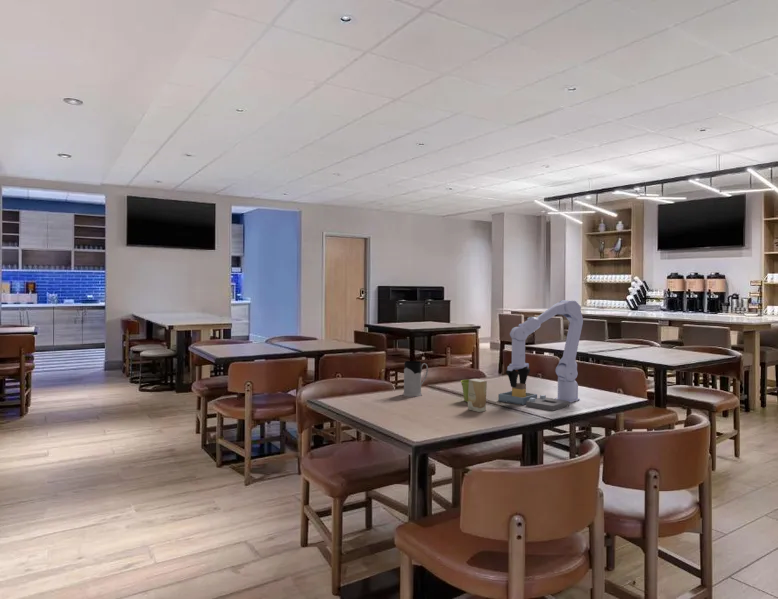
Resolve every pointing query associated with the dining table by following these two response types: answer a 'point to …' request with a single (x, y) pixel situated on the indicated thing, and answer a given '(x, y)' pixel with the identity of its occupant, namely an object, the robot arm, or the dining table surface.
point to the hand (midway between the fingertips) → (518, 385)
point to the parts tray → (515, 398)
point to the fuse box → (546, 403)
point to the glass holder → (413, 378)
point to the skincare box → (477, 395)
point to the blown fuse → (519, 390)
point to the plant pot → (465, 389)
